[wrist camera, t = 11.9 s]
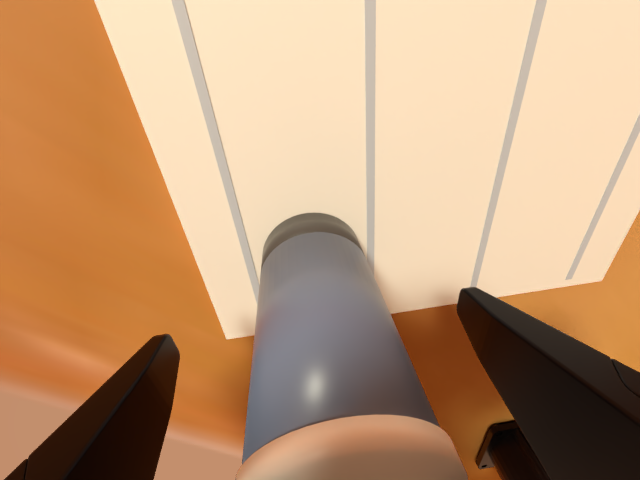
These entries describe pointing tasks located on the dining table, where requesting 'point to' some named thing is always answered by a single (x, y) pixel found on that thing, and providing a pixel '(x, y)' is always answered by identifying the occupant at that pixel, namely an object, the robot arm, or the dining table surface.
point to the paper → (393, 135)
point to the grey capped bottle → (333, 370)
